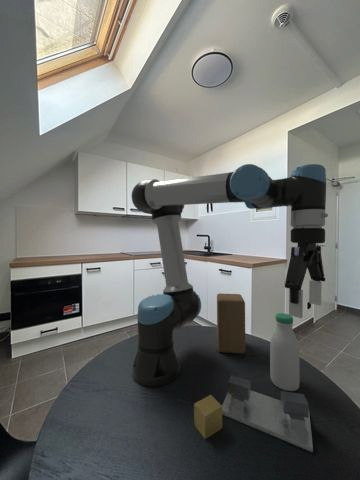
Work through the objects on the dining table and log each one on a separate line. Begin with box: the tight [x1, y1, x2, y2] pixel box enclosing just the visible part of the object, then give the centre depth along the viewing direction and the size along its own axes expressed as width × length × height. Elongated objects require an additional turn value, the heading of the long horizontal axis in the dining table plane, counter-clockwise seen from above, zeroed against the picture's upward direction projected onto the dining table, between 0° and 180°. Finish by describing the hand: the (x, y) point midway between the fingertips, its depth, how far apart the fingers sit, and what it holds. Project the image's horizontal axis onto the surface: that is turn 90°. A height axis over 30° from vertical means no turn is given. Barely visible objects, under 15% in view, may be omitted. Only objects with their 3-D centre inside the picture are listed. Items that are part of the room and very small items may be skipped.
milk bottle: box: [269, 312, 300, 392], centre depth 60 cm, size 8×8×20 cm
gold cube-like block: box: [193, 394, 223, 440], centre depth 46 cm, size 5×4×5 cm
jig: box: [221, 374, 314, 453], centre depth 49 cm, size 19×10×6 cm, turn 61°
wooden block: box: [216, 293, 246, 354], centre depth 80 cm, size 10×10×20 cm
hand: (306, 309), depth 52 cm, fingers open, 13 cm apart
